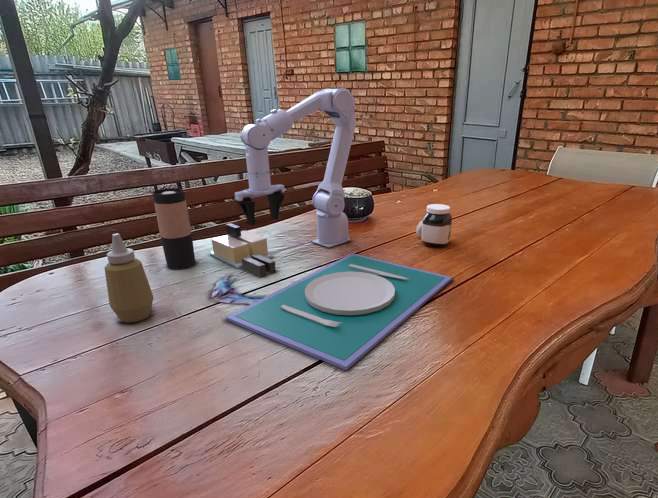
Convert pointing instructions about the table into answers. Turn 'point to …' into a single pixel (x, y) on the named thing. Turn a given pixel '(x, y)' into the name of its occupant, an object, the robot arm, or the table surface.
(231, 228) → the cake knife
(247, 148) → the robot arm
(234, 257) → the cake
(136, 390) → the table surface
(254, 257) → the stand
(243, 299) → the decorative blades
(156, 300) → the table surface
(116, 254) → the squeeze bottle
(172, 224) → the travel mug
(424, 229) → the spread jar
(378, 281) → the place mat
